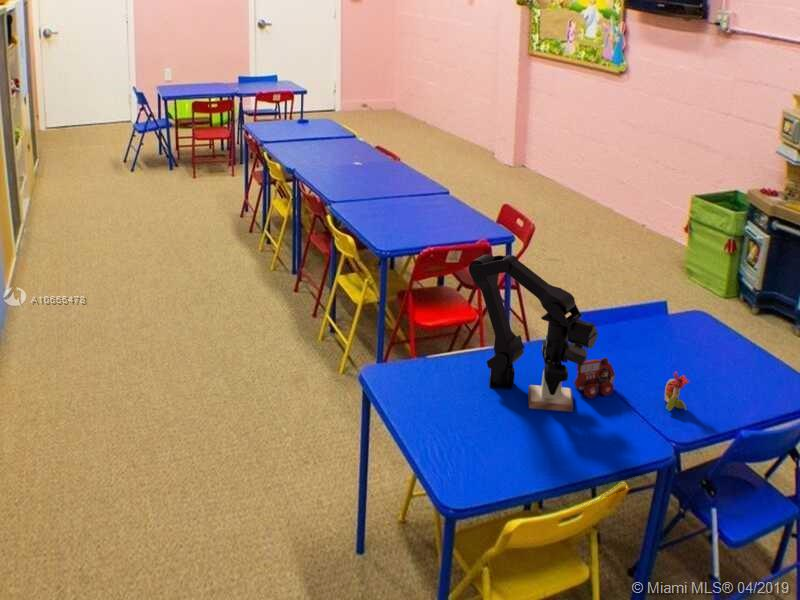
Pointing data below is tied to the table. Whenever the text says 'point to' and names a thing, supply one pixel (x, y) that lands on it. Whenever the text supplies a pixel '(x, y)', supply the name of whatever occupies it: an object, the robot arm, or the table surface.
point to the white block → (546, 391)
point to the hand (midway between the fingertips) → (551, 386)
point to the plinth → (550, 400)
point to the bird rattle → (675, 392)
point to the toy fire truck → (595, 377)
